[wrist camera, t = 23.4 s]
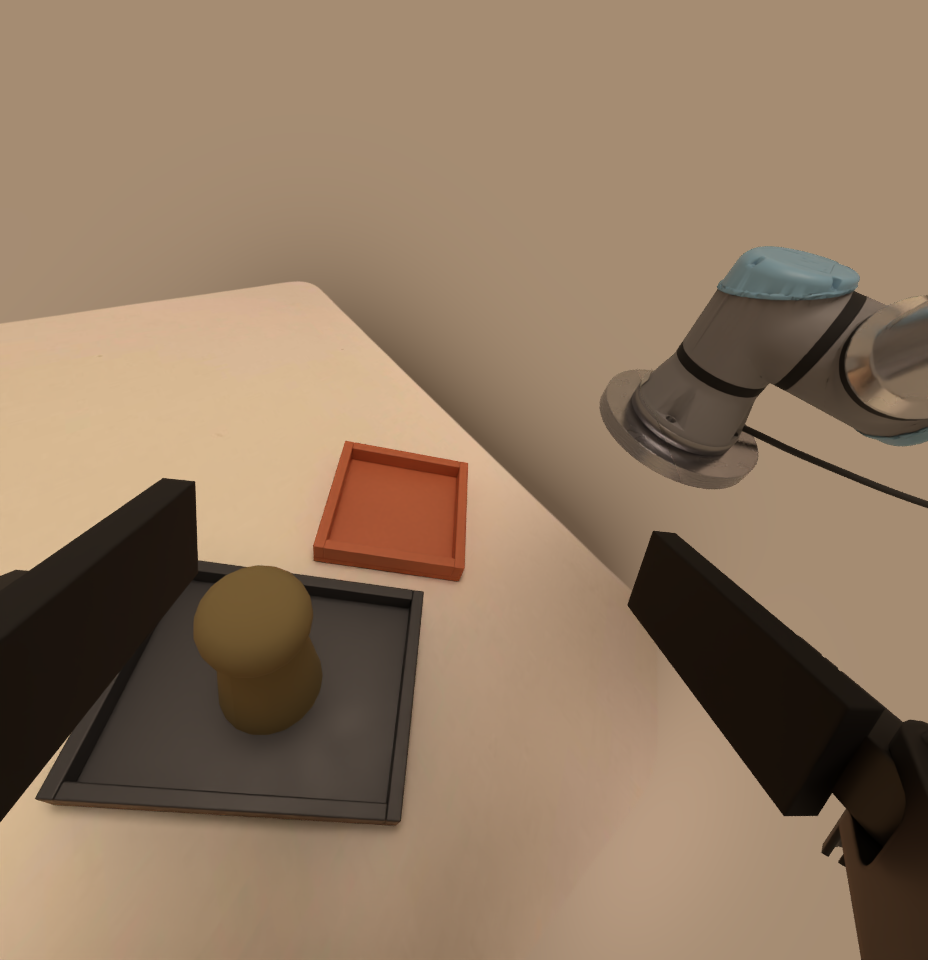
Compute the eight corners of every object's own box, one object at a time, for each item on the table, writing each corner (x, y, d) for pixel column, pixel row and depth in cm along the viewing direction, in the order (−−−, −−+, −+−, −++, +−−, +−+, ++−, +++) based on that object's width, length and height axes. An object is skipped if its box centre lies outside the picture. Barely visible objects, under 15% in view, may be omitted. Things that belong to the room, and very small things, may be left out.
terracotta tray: (463, 477, 44) (468, 462, 43) (458, 581, 37) (464, 568, 35) (344, 456, 43) (345, 440, 41) (313, 560, 35) (313, 546, 33)
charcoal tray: (419, 604, 35) (423, 591, 33) (396, 825, 25) (401, 822, 24) (175, 571, 32) (168, 555, 31) (52, 804, 23) (33, 799, 21)
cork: (287, 616, 31) (274, 525, 23) (341, 683, 29) (348, 608, 21) (198, 679, 27) (146, 596, 19) (254, 760, 25) (221, 704, 18)
